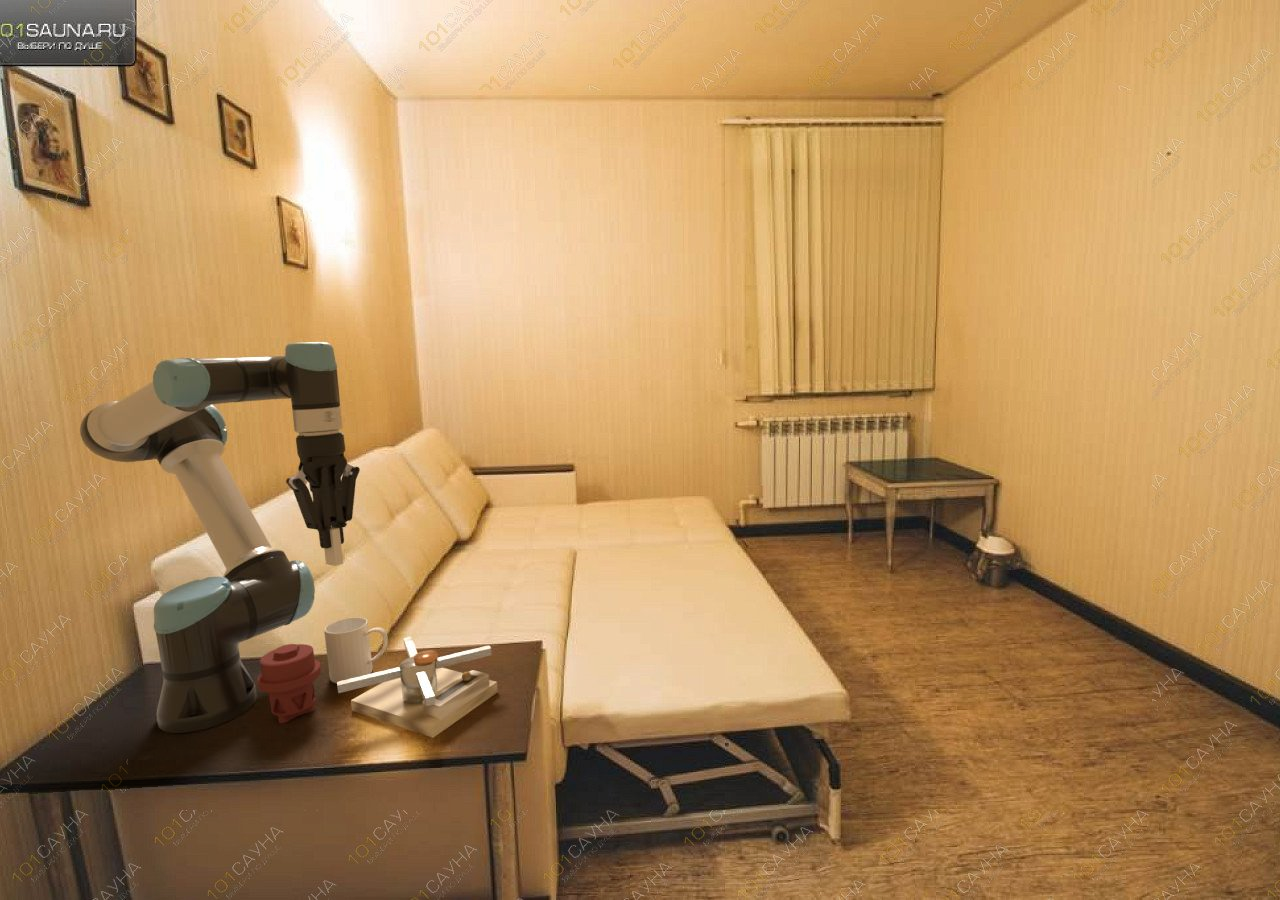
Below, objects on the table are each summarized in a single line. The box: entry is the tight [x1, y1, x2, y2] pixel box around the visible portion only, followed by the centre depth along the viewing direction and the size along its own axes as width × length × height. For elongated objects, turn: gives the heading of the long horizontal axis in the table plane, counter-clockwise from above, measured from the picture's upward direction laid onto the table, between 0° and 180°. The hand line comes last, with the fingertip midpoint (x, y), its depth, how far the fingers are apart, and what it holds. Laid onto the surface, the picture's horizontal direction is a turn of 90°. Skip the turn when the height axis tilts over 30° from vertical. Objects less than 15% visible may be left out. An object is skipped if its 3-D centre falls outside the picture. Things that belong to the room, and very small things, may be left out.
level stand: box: [350, 667, 498, 738], centre depth 118 cm, size 20×16×6 cm
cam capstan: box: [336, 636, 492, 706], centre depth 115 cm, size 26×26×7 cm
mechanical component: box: [256, 643, 322, 724], centre depth 115 cm, size 12×10×10 cm
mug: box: [323, 616, 389, 684], centre depth 129 cm, size 12×8×10 cm, turn 84°
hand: (334, 563), depth 115 cm, fingers closed
